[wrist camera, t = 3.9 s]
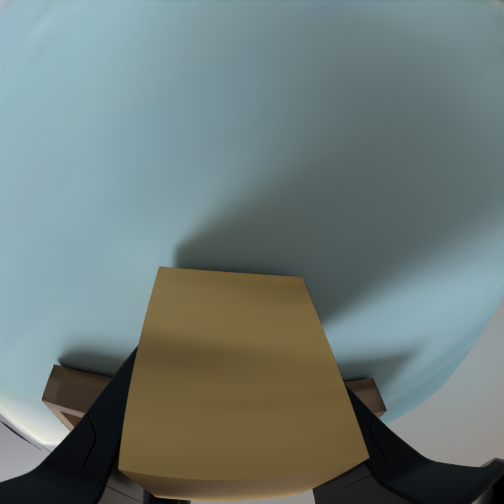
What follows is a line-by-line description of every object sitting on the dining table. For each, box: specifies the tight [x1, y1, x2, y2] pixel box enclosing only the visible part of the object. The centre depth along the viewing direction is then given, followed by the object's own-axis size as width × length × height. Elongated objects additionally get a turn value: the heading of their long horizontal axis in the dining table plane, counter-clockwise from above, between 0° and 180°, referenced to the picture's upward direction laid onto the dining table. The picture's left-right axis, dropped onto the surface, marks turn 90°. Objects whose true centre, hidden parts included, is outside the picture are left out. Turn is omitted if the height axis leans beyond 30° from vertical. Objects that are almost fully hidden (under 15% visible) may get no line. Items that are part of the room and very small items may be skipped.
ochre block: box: [118, 267, 369, 501], centre depth 7 cm, size 4×4×6 cm
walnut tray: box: [42, 364, 387, 431], centre depth 14 cm, size 12×18×2 cm, turn 81°
